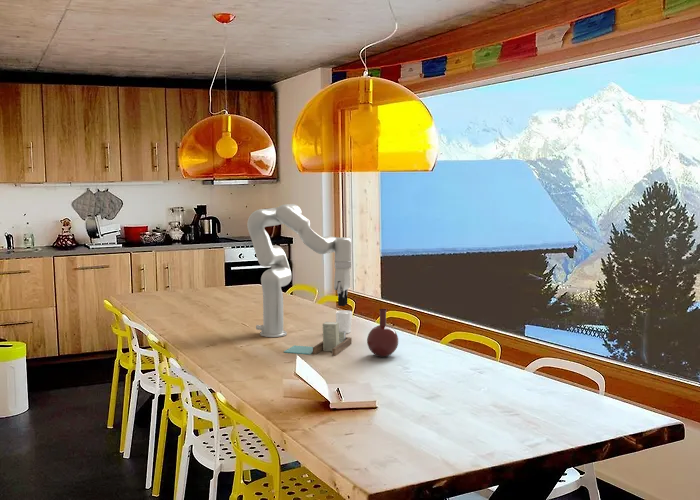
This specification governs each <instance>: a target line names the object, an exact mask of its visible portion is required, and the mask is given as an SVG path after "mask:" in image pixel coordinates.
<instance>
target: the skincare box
mask: <svg viewBox="0 0 700 500" xmlns="http://www.w3.org/2000/svg"><path fill="white" fill-rule="evenodd" d="M322 341H323V350H322V351H324V352H332V349H333V348H335V347H336V346H337V345H339V322H336V321H325V322H323V323H322Z"/></svg>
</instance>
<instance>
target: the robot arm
mask: <svg viewBox="0 0 700 500" xmlns="http://www.w3.org/2000/svg"><path fill="white" fill-rule="evenodd" d="M302 212H303V211H302V209H301V208H300V206H299V205H298V204H295V203H287V204H284V203H283V204H281V205H279V206H277V207H276V206H275V207H272V208H271V207H269V208H268V207H267V208H260V209H256V210H254V211H253V212H252V213H251V214H250V215H249V217H248V219H247V223H246V225H247V226H246V227H247V231H248V235H249V237H250V240H251V242H252V246H253V249H254V252H255V257H256V259H257V261H258V264H259V265H260V266H261V267H266V268H267V267H271V268H268V269H266V270H265V271H264V272H263V273H262V275H261V277H260V283H261V289H262V309H263V310H262V315H263V316H262V321H263V324H256V325H255V329H256V330H257V331H259V330H260V333H259V335H260V336H261V337H265V338H279V337H280V338H281V337H284V336H286V335H287V334H288V332H287V331H286V330H284V294H283V293H284V292H283V290H282V287H283V288H284V287H286V286H288V285H289V284H290V282H291V281H292V278H293V277H292V271H291V267H290V264H289V261H288V258H287V255H286V252H285V250H284V249H283V248H282V247H281V246H280V245H277V244H275V245H274V244H272V241H271V237H270V235H269V233H268V231H267V230H266V229H265V228H267V227H273V226H279V225H284V226H286V227H287V228H289V229H290V230H291V231H292V232H294V233H295V234H296V235H298V237H299V239H300V240H301V242H302V243H303V245H305V246H306V247H307V248H309V249H310V250H312V251H313V252H314V253H316V254H319V255H326V254H331V253H334V280H333V290H334V291H336V293H337V306H338V307H345V306H347V305H348V294H349V292H348V291H349V289H350V287H351V271H350V269H352V240H351V238H350V237H338V236H333V235H329V236H321V235H319V234H318V233H317V232H315V231H314V230H313V229H312V228H311V221H310V219H309V218H307V217H306V216H305V215H303V214H302Z"/></svg>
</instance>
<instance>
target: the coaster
mask: <svg viewBox="0 0 700 500" xmlns="http://www.w3.org/2000/svg"><path fill="white" fill-rule="evenodd" d="M313 347H314V346H308V345H307V346H305V345H304V346H303V345H292V346H290V347H288V348H287V349H285V350H283V353H285V354H287V353H288V354H296V355H297V354H298V355H302V354H303V355H313Z"/></svg>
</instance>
